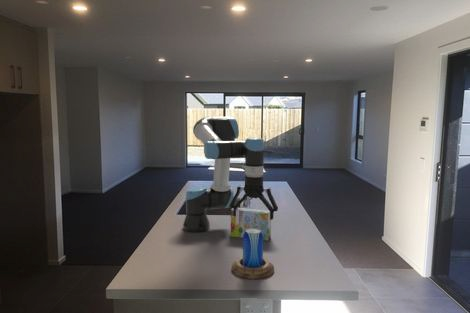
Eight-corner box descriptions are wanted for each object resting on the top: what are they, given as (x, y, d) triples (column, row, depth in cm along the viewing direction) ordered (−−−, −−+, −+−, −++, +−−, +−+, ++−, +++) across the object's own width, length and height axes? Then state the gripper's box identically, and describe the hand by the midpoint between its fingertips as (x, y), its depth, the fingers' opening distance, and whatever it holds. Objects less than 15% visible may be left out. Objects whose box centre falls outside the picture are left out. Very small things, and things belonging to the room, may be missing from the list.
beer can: (241, 262, 154) (242, 227, 152) (260, 262, 154) (261, 227, 152) (243, 271, 145) (244, 234, 143) (264, 270, 146) (264, 233, 144)
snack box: (271, 238, 187) (271, 210, 185) (268, 241, 182) (269, 213, 180) (233, 233, 194) (233, 206, 192) (230, 236, 189) (230, 209, 187)
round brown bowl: (226, 276, 144) (226, 268, 143) (237, 258, 161) (237, 251, 160) (270, 282, 139) (270, 274, 139) (276, 263, 156) (276, 256, 156)
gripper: (222, 175, 144) (222, 225, 147) (283, 179, 138) (281, 231, 141) (227, 172, 151) (227, 219, 154) (285, 175, 145) (284, 225, 148)
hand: (253, 225), depth 148 cm, fingers open, 13 cm apart
